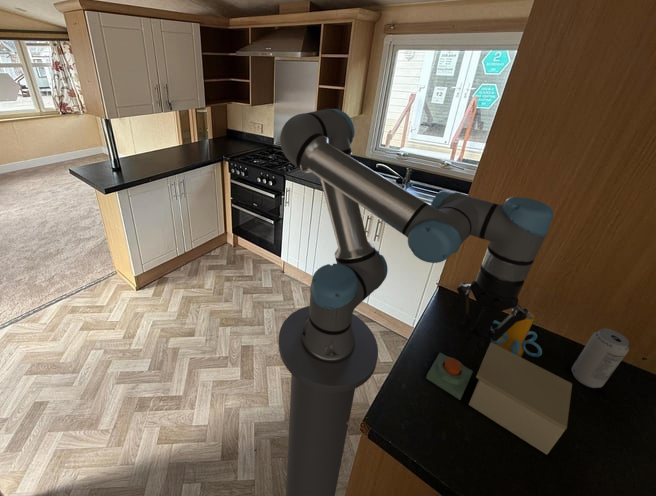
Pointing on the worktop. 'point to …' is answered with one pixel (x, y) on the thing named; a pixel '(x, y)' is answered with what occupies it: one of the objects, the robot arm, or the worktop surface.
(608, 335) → the energy drink can
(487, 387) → the beige square box
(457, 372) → the button
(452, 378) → the control block
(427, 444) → the worktop surface
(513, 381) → the beige board
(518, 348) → the cylinder
